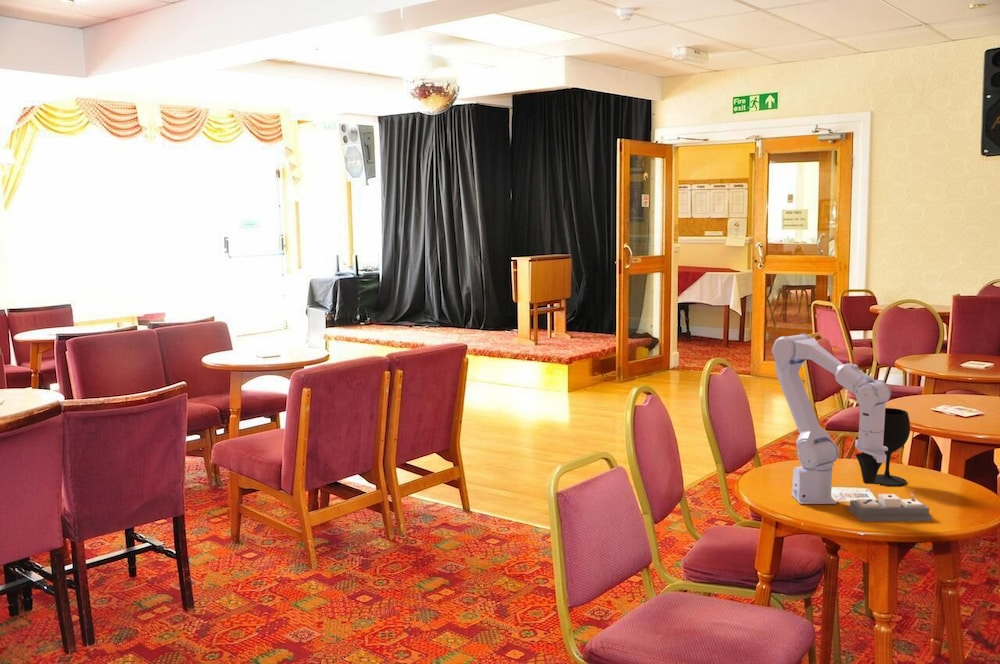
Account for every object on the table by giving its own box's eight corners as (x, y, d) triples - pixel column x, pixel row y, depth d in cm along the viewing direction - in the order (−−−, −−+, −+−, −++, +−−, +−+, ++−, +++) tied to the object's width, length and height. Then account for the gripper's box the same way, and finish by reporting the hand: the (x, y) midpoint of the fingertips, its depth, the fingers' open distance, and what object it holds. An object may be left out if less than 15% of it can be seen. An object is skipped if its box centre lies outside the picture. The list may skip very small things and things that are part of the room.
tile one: (884, 508, 222) (885, 498, 222) (877, 503, 226) (878, 493, 226) (900, 508, 222) (901, 498, 222) (893, 503, 226) (894, 493, 226)
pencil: (909, 495, 240) (929, 519, 222) (911, 491, 240) (931, 516, 222) (912, 496, 240) (932, 521, 222) (914, 493, 240) (934, 518, 221)
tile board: (861, 521, 220) (862, 510, 220) (847, 509, 229) (848, 498, 229) (931, 521, 220) (931, 510, 220) (914, 508, 229) (915, 498, 229)
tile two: (906, 513, 223) (906, 503, 222) (899, 508, 227) (899, 498, 226) (922, 513, 223) (923, 503, 222) (915, 508, 226) (915, 498, 226)
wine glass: (900, 476, 257) (904, 407, 254) (911, 487, 246) (916, 416, 244) (862, 474, 258) (866, 406, 255) (872, 486, 248) (875, 415, 245)
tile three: (862, 513, 223) (862, 503, 222) (856, 508, 227) (856, 498, 226) (878, 513, 223) (879, 503, 222) (872, 508, 227) (872, 498, 226)
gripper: (900, 437, 215) (897, 492, 216) (875, 422, 229) (873, 474, 231) (870, 437, 215) (867, 492, 217) (848, 422, 229) (845, 474, 231)
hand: (868, 483), depth 224 cm, fingers closed
